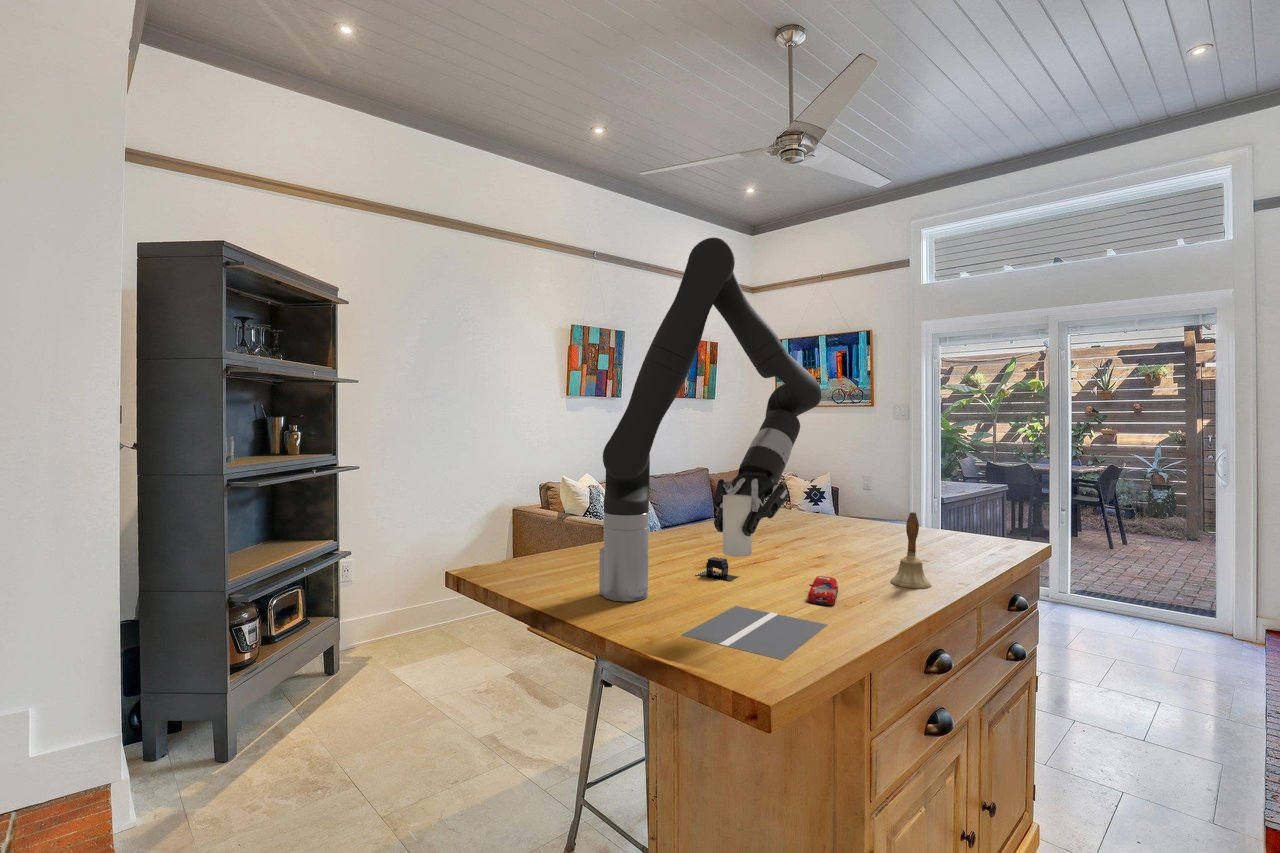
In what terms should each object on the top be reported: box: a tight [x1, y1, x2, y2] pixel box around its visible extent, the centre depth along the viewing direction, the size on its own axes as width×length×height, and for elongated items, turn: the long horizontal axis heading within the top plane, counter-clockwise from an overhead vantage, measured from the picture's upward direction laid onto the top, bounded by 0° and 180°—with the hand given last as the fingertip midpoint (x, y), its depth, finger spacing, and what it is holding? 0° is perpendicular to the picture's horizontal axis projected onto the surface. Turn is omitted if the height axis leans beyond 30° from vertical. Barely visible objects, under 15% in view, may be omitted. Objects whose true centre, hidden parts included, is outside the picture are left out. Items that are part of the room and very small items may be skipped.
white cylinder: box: [722, 494, 753, 558], centre depth 109 cm, size 5×5×10 cm
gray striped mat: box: [681, 605, 829, 661], centre depth 107 cm, size 18×20×1 cm
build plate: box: [694, 556, 740, 583], centre depth 144 cm, size 12×7×5 cm, turn 57°
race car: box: [807, 575, 839, 606], centre depth 128 cm, size 13×5×4 cm, turn 157°
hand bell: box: [890, 511, 932, 590], centre depth 139 cm, size 8×8×16 cm
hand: (731, 531), depth 107 cm, fingers closed on white cylinder, 5 cm apart
